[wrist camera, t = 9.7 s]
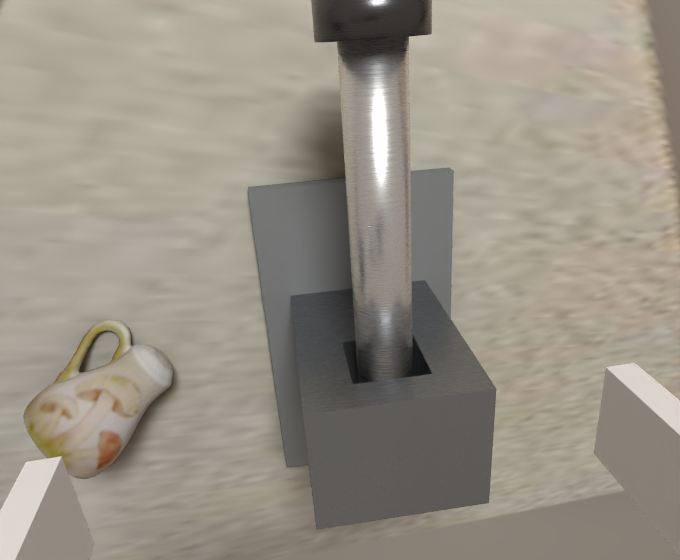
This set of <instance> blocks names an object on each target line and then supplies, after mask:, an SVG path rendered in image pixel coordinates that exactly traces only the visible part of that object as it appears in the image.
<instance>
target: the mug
mask: <svg viewBox="0 0 680 560" xmlns="http://www.w3.org/2000/svg"><path fill="white" fill-rule="evenodd" d="M103 331H112V332H114V333H115V334H116V335H117V337H118V338H119V347H118V349H117V350H116V352H115V354H114V356H113V359H112V361H111V362H110V363H109V364H107V365H104V366H102V367H99V368H96V369H92V370H89V371H86V372H80V371H79V369H80V366H81V364H82V361H83V359H84V357H85V355H86V353H87V351H88V348H89V347H90V345H91V343H92V341H93V340H94V338H95V337H96V336H97V335H98V334H99V333H101V332H103ZM172 378H173V369H172V367H171V364H170V363H169V361H168V360H167V358H166V357H165V356H164V355H163V354H162V353H161V352H160V351H159V350H158V349H156V348H154V347H152V346H149V345H133V346H131V334H130V330H129V328H128V327H127V326H126V324H125V323H123V322H120V321H117V320H106V321H102V322H100V323H98V324H96V325H94V326H93V327H92V328H91V329H90V330H89V331H88V332H87V334H86V335H85V336H84V337H83V339H82V341H81V343H80V345H79V347H78V349H77V351H76V352H75V354H74V356H73V357H72V359H71V361H70V363H69V364H68V366H67V367H66V368H65V369H64V371H63V372H61V373H60V374H59V376H58V377H57V379H56V381H55V383H54V384H52V385H50V386H49V387H47V388H46V389H44V390H43V391H42V392H40V393H39V394H38V395H37V396H36V397H35V398H34V399H33V400H32V401H31V402H30V404H29V405H28V406H27V408H26V409H25V412H24V423H25V425H26V428H27V431H28V433H29V435H30V436H31V438H32V440H33V441H34V443H35V444H36V446H37V447H38V448H39V450H40V451H41V452H42V453H43V454H44V455H45V456H46V457H47V458H54V457H60V456H62V459H63V461H64V464H65V467H66V469H67V472H68V474H69V475H71V476H73V477H76V478H80V479H88V478H91V477H94V476H96V475H97V474H99V473H100V472H102V471H103V470H105V469H106V468H107V467H109V466H110V465H111V464H113V463H114V462H115V461H116V459H117V458H118V457H119V456H120V454H121V453H122V451H123V450H124V448H125V447H126V445H127V444H128V442H129V440H130V438H131V436H132V434H133V433H134V431H135V428H136V427H137V425H138V423H139V421H140V419H141V417H142V416H143V414H144V412H145V410H146V409H147V408H148V406H149V405H150V404H151V403H152V402H153V401H154V400H155V399H156V398H157V397H158V396H159V395H160V394H162V393H163V392H164V391H165V390H167V389H168V388H169V387H170V386H171V384H172Z"/></svg>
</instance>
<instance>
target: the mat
mask: <svg viewBox="0 0 680 560" xmlns="http://www.w3.org/2000/svg"><path fill="white" fill-rule="evenodd" d="M453 174H454V171H453V170H452V169H450V168H440V169H429V170H419V171H410V185H411V268H412V282H413V281H421V280H425V281H426V282H427V284H428V285H429V287H430V288H431V290H432V291H433V293H434V294H435V296H436V297H437V299H438V301H439V302H440V304H441V305H442V307H443V308H444V310H445V311H446V313H447V314H448V316H449V317H450V314H451V267H452V221H453ZM248 195H249V202H250V210H251V217H252V224H253V231H254V238H255V245H256V252H257V259H258V267H259V274H260V281H261V288H262V295H263V302H264V309H265V316H266V324H267V331H268V338H269V345H270V352H271V359H272V366H273V373H274V381H275V388H276V395H277V402H278V409H279V416H280V423H281V431H282V438H283V445H284V452H285V459H286V466H287V467H293V466H300V465H307V464H309V461H308V453H307V444H306V436H305V427H304V418H303V409H302V400H301V390H300V381H299V371H298V361H297V352H296V342H295V333H294V323H293V313H292V304H291V296H292V295H300V294H309V293H318V292H326V291H335V290H344V289H352V273H351V257H350V241H349V225H348V209H347V193H346V178H337V179H327V180H316V181H306V182H296V183H286V184H275V185H265V186H255V187H248Z"/></svg>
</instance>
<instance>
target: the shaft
mask: <svg viewBox="0 0 680 560" xmlns="http://www.w3.org/2000/svg"><path fill="white" fill-rule="evenodd" d="M311 1H312V14H313V27H314V39H315V42H337V49H338V65H339V81H340V97H341V113H342V129H343V145H344V161H345V177H346V193H347V209H348V225H349V241H350V257H351V273H352V289H353V305H354V321H355V336H356V352H357V368H358V384H359V383H367V382H375V381H382V380H390V379H397V378H405V377H413V351H412V268H411V185H410V102H409V36H418V35H428V34H432V0H311Z"/></svg>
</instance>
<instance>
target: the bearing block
mask: <svg viewBox="0 0 680 560" xmlns="http://www.w3.org/2000/svg"><path fill="white" fill-rule="evenodd" d="M291 304H292V313H293V323H294V333H295V342H296V352H297V361H298V371H299V381H300V390H301V400H302V409H303V418H304V427H305V436H306V444H307V453H308V461H309V470H310V478H311V487H312V495H313V504H314V512H315V521H316V529H322V528H329V527H335V526H342V525H348V524H355V523H361V522H368V521H374V520H381V519H387V518H394V517H400V516H407V515H413V514H420V513H426V512H433V511H439V510H446V509H452V508H459V507H465V506H472V505H478V504H485V503H489V492H490V477H491V462H492V447H493V432H494V416H495V401H496V388H495V386H494V385H493V383H492V381H491V380H490V378H489V377H488V375H487V374H486V372H485V371H484V369H483V368H482V366H481V365H480V363H479V362H478V360H477V359H476V357H475V356H474V354H473V352H472V351H471V349H470V348H469V346H468V345H467V343H466V342H465V340H464V339H463V337H462V336H461V334H460V333H459V331H458V330H457V328H456V327H455V325H454V323H453V322H452V320H451V319H450V317H449V316H448V314H447V313H446V311H445V310H444V308H443V307H442V305H441V304H440V302H439V301H438V299H437V297H436V296H435V294H434V293H433V291H432V290H431V288H430V287H429V285H428V284H427V282H426V281H425V280H421V281H413V282H412V351H413V377H405V378H397V379H390V380H382V381H375V382H367V383H359V384H358V368H357V352H356V336H355V321H354V305H353V289H344V290H335V291H326V292H318V293H309V294H300V295H292V296H291Z"/></svg>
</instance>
